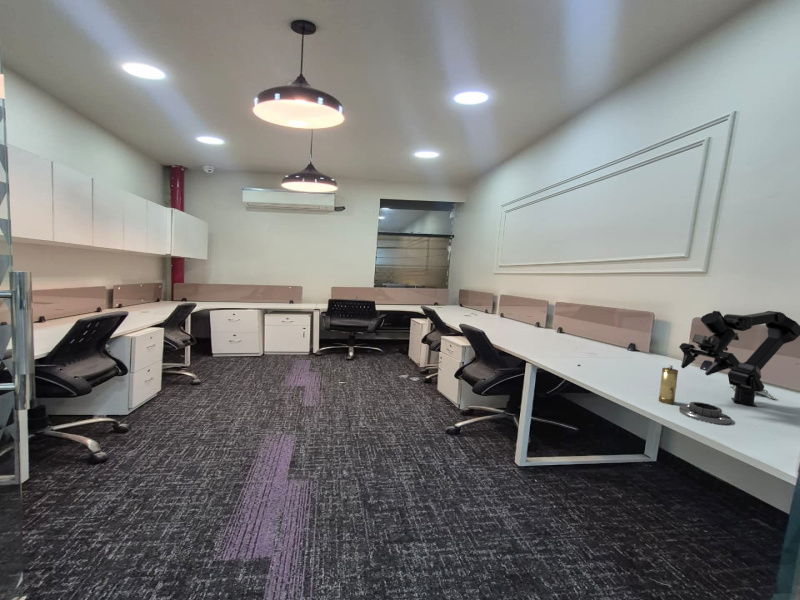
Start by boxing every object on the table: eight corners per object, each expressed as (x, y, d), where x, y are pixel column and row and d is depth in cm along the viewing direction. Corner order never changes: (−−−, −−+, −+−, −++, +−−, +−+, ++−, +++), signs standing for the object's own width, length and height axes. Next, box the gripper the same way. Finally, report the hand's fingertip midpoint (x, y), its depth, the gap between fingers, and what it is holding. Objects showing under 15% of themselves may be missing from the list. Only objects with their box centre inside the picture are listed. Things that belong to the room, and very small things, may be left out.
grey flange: (677, 405, 134) (678, 396, 134) (727, 415, 126) (728, 405, 126) (680, 416, 123) (681, 406, 123) (735, 428, 115) (736, 418, 115)
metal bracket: (741, 381, 151) (730, 373, 164) (734, 393, 152) (724, 384, 165) (784, 398, 145) (770, 388, 157) (777, 410, 146) (763, 399, 159)
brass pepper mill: (658, 398, 140) (662, 363, 139) (673, 402, 138) (678, 365, 136) (658, 402, 136) (663, 365, 135) (674, 405, 134) (678, 368, 133)
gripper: (684, 323, 143) (659, 351, 142) (735, 331, 125) (707, 364, 124) (699, 341, 145) (675, 369, 144) (751, 351, 127) (724, 384, 126)
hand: (693, 371), depth 135 cm, fingers open, 9 cm apart
